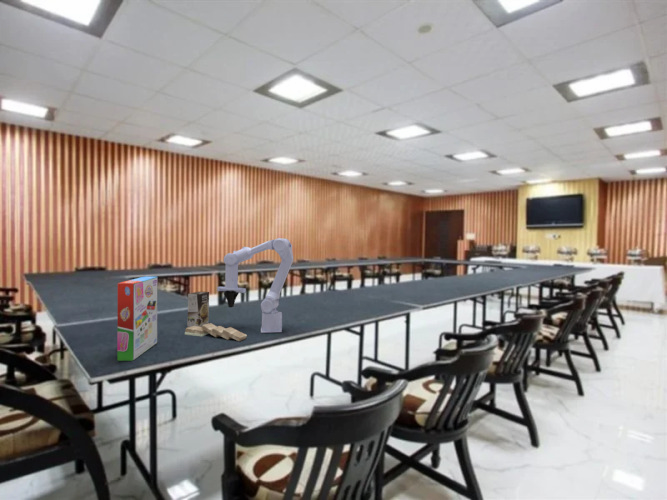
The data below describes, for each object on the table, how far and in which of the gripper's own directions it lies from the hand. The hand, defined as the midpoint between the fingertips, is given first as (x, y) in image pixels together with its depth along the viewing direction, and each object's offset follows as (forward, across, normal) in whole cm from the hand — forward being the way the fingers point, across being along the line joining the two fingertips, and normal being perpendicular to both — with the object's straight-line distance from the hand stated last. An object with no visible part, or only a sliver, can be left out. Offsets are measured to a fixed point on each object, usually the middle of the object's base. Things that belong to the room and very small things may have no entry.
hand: (231, 307), depth 170 cm
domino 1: (+9, +4, +14) cm, 17 cm away
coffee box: (+11, +18, 0) cm, 21 cm away
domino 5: (+10, -16, +14) cm, 23 cm away
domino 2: (+10, +4, +14) cm, 18 cm away
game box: (+11, +11, +42) cm, 45 cm away
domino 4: (+10, -10, +14) cm, 20 cm away
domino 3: (+10, -4, +13) cm, 17 cm away
